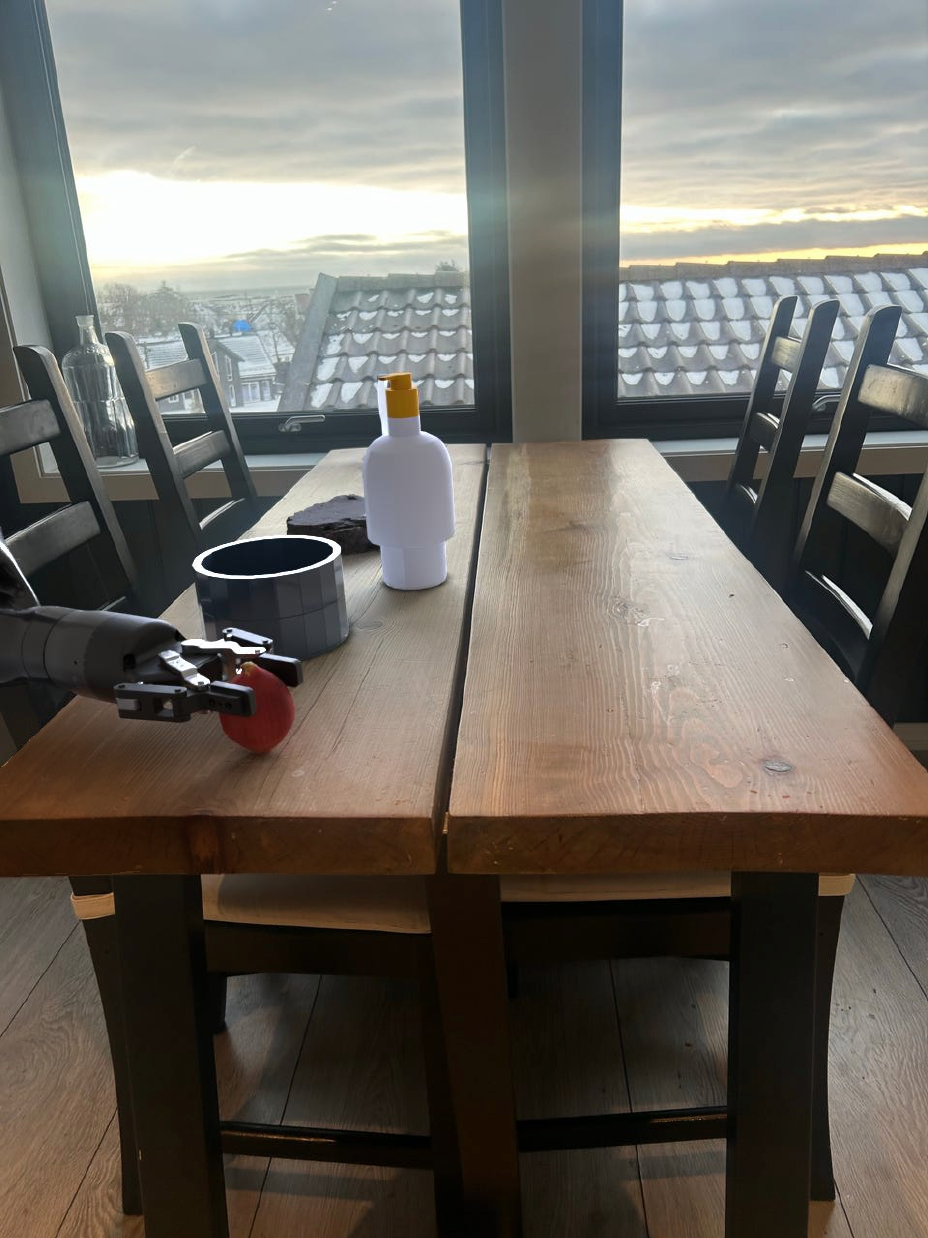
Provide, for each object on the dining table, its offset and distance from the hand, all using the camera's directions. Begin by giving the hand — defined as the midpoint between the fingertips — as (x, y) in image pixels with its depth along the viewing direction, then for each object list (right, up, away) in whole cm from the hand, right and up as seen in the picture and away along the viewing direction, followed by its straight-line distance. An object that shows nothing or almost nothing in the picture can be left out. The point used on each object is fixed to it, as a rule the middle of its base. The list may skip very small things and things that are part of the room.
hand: (276, 688), depth 76 cm
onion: (-2, -5, +3) cm, 7 cm away
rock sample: (-1, +16, +60) cm, 62 cm away
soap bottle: (+9, +10, +42) cm, 44 cm away
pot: (-5, +3, +27) cm, 27 cm away
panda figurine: (+2, +36, +114) cm, 120 cm away
